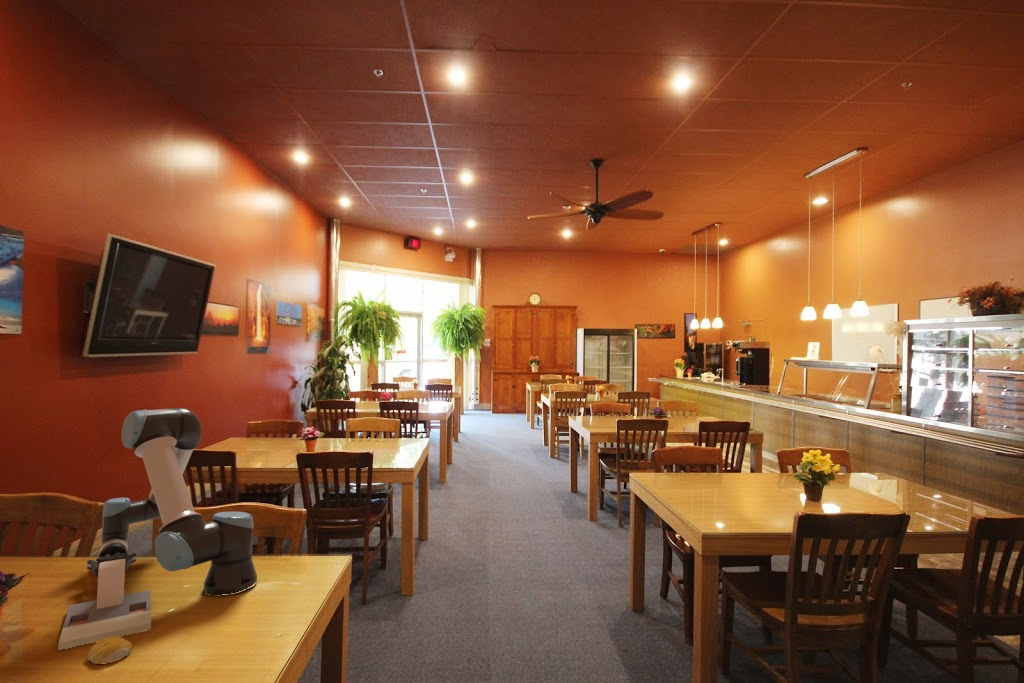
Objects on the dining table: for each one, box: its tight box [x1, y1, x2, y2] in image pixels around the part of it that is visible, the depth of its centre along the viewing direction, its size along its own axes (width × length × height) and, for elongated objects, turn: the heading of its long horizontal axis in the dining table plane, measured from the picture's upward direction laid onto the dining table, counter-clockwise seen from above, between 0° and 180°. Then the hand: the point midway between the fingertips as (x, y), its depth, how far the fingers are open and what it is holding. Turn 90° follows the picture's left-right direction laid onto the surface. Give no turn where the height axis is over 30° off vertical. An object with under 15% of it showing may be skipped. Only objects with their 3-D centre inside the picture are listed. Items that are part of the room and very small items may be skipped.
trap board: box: [62, 589, 152, 629], centre depth 150 cm, size 16×19×2 cm
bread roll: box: [87, 636, 133, 665], centre depth 130 cm, size 8×9×4 cm
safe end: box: [57, 609, 152, 651], centre depth 140 cm, size 8×19×2 cm, turn 125°
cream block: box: [96, 559, 126, 609], centre depth 153 cm, size 6×6×11 cm
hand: (109, 578), depth 157 cm, fingers closed
